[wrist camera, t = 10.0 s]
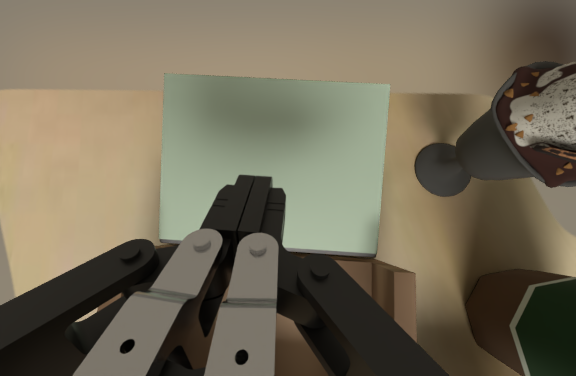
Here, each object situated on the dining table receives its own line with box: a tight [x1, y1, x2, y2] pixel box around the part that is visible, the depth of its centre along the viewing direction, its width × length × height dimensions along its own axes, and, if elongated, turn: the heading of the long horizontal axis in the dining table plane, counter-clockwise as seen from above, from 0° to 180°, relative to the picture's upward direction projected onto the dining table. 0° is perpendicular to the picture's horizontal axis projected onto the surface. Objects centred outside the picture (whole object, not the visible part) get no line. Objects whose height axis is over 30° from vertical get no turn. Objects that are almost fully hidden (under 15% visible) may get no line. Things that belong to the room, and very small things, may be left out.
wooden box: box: [97, 245, 417, 376], centre depth 16 cm, size 18×11×8 cm, turn 86°
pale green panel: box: [159, 73, 390, 257], centre depth 18 cm, size 16×2×12 cm
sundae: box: [415, 61, 576, 197], centre depth 15 cm, size 7×7×15 cm
